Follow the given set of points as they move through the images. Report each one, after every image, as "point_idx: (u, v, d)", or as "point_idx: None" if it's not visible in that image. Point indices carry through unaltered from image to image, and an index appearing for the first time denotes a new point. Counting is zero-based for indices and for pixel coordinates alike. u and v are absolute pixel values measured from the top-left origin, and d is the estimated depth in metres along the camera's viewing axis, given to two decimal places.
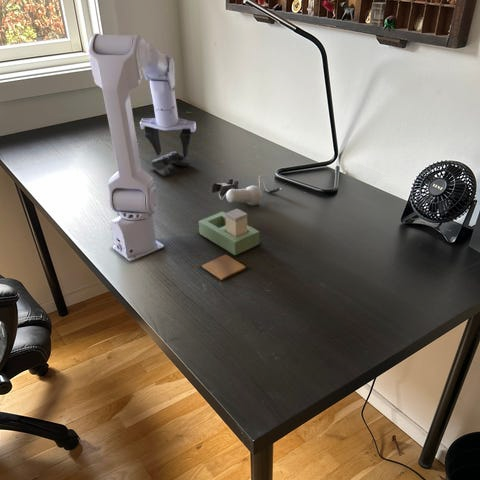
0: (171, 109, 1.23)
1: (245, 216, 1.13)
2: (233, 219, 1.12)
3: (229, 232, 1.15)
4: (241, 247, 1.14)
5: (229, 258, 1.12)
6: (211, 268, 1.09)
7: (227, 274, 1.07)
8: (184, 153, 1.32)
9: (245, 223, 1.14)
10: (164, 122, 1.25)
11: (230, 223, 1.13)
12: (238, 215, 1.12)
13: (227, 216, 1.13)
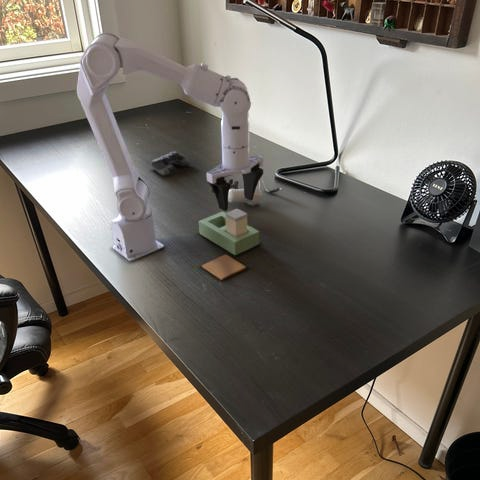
0: (222, 145, 1.03)
1: (245, 216, 1.13)
2: (233, 219, 1.12)
3: (229, 232, 1.15)
4: (241, 247, 1.14)
5: (229, 258, 1.12)
6: (211, 268, 1.09)
7: (227, 274, 1.07)
8: None
9: (245, 223, 1.14)
10: None
11: (230, 223, 1.13)
12: (238, 215, 1.12)
13: (227, 216, 1.13)
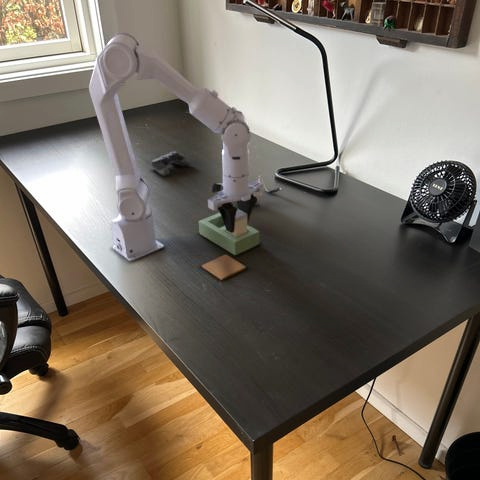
0: None
1: (245, 216, 1.13)
2: None
3: (229, 232, 1.15)
4: (241, 247, 1.14)
5: (229, 258, 1.12)
6: (211, 268, 1.09)
7: (227, 274, 1.07)
8: None
9: (245, 223, 1.14)
10: None
11: None
12: (238, 214, 1.12)
13: None
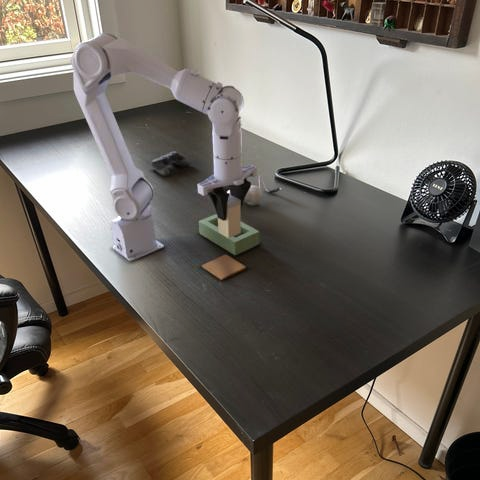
0: (213, 155, 0.98)
1: (238, 202, 1.05)
2: None
3: (221, 220, 1.07)
4: (241, 247, 1.14)
5: (229, 258, 1.12)
6: (211, 268, 1.09)
7: (227, 274, 1.07)
8: None
9: (238, 210, 1.06)
10: None
11: None
12: (230, 201, 1.04)
13: None
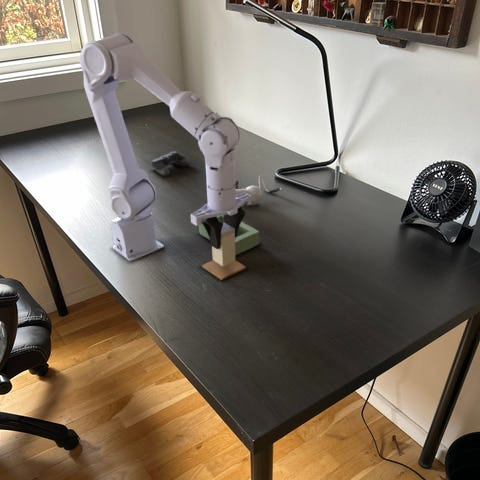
0: None
1: (232, 231, 1.04)
2: None
3: (215, 248, 1.06)
4: (241, 247, 1.14)
5: None
6: (211, 268, 1.09)
7: (227, 274, 1.07)
8: None
9: (232, 238, 1.05)
10: None
11: None
12: (224, 229, 1.03)
13: None
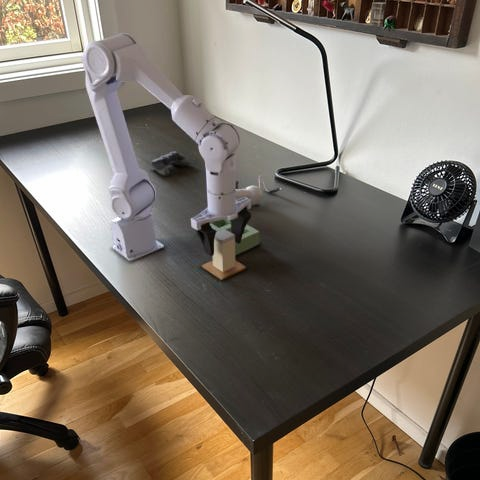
0: (207, 189, 0.98)
1: (232, 237, 1.05)
2: (219, 241, 1.03)
3: (215, 254, 1.07)
4: (241, 247, 1.14)
5: None
6: (211, 268, 1.09)
7: (227, 274, 1.07)
8: None
9: (233, 245, 1.06)
10: None
11: (216, 245, 1.05)
12: (224, 236, 1.04)
13: None
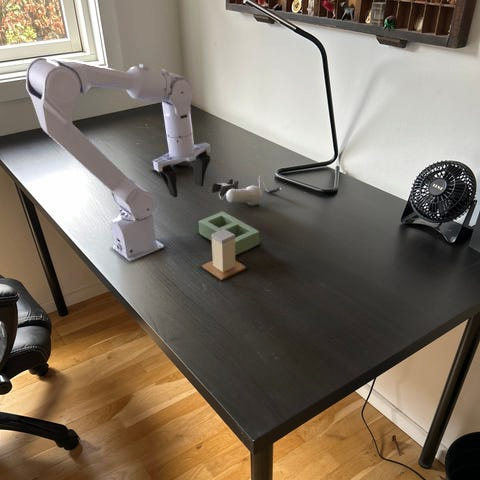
0: None
1: (232, 237, 1.05)
2: (219, 241, 1.03)
3: (215, 254, 1.07)
4: (241, 247, 1.14)
5: None
6: (211, 268, 1.09)
7: (227, 274, 1.07)
8: None
9: (233, 245, 1.06)
10: None
11: (216, 245, 1.05)
12: (224, 236, 1.04)
13: (213, 237, 1.05)
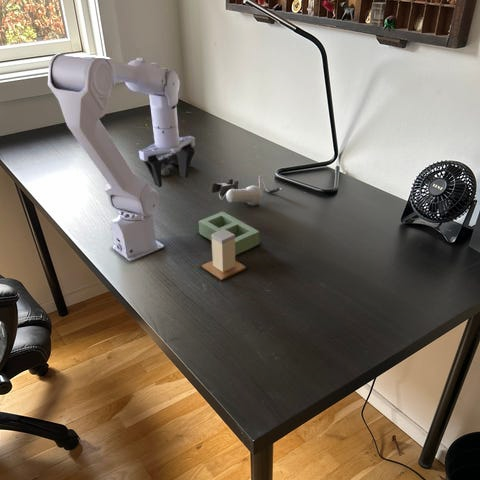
0: (153, 125, 1.13)
1: (232, 237, 1.05)
2: (219, 241, 1.03)
3: (215, 254, 1.07)
4: (241, 247, 1.14)
5: None
6: (211, 268, 1.09)
7: (227, 274, 1.07)
8: None
9: (233, 245, 1.06)
10: None
11: (216, 245, 1.05)
12: (224, 236, 1.04)
13: (213, 237, 1.05)
